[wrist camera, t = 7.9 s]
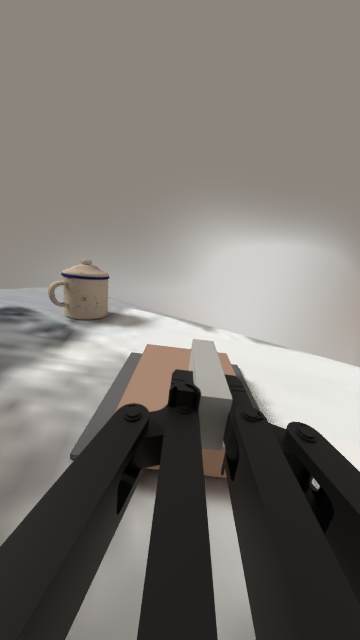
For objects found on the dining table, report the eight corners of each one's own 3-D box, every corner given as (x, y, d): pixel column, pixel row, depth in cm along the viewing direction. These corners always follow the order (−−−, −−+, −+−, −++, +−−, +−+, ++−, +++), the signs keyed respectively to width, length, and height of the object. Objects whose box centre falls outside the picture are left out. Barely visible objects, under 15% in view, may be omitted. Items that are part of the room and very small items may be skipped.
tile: (269, 452, 12) (226, 353, 26) (105, 433, 12) (147, 344, 26) (260, 484, 13) (222, 372, 27) (104, 466, 13) (145, 363, 27)
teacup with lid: (92, 307, 51) (92, 259, 48) (117, 316, 47) (119, 263, 44) (39, 314, 42) (34, 254, 38) (63, 326, 37) (60, 258, 34)
